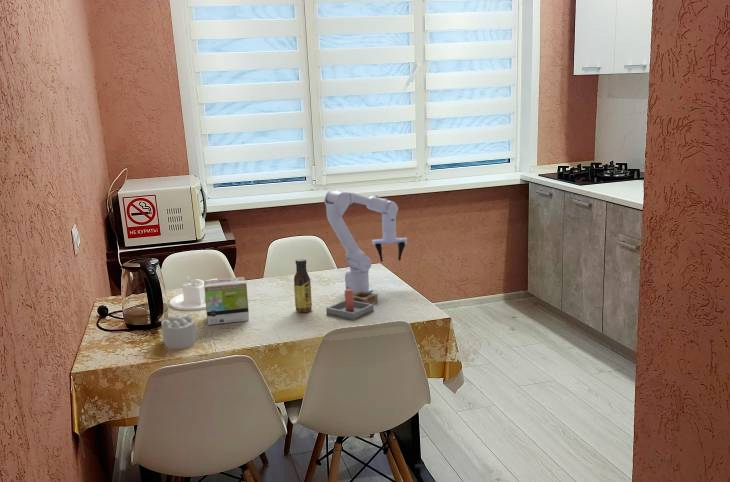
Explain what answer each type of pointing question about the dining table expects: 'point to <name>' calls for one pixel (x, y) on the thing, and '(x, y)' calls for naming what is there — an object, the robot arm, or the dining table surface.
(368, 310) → the tray
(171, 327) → the white bowl of pebbles
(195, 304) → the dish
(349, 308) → the pin
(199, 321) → the dining table surface
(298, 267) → the sauce bottle
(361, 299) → the pin block
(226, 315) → the tea box
